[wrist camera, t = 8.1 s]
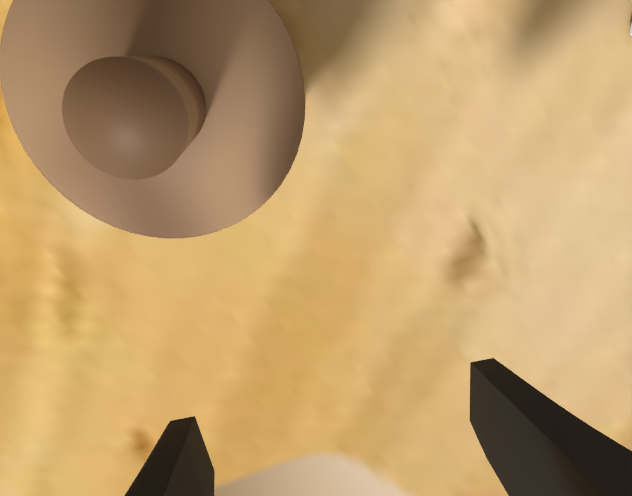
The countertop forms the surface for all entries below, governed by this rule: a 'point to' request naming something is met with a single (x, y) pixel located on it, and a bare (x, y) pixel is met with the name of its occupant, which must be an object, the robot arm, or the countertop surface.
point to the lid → (155, 107)
